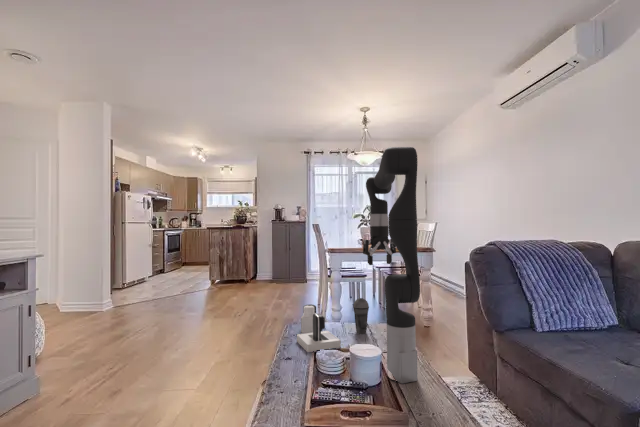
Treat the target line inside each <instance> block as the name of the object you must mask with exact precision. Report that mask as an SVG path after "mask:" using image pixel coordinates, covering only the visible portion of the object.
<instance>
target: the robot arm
mask: <svg viewBox="0 0 640 427" xmlns="http://www.w3.org/2000/svg"><path fill="white" fill-rule="evenodd" d="M396 176H404V184H403V187H402V190H401V192H400V194H399V196H398V197H397V199H396V200H395V202H394V203H393V205H392V206H391V209H390V210H389V208H388V206H389V205H388V201H387V200H386V199H382V198H379V197H377V195H385V194H389V193H390V192H391V191H392V188H393V187H392V185H393V183H394V181H395V180H396ZM417 178H418V152H417V150H416V148H415V147H414V146H412V147H411V146H390V147H386V148H385V150H384V151H383V153H382V156H381V160H380V163H379V167H378V170H377V173H376V174H375V176H370V177H368V178H367V179H366V181H365V187H366V191H367V194H368V198H369V203H370V218H369V231H370V233H369V234H370V235H369V236H370V239H363V240H362V242H363V244H362V245H363V246H362V253H363V255H365V256H367V264H368V265H369V266H373V265H374V262H373V260H374V259H373V258H374V257H373V254H374V253H375V252H376V251H380V250H383V251H384V252H385V253H386V264H387V265H391V264H392V260H393V259H392V258H393V257H392V256H393V254H396V253H397V251H398V253H399V254H400V257H401V258H402V260H403V263H404V267H405V274H388V275H387V276H386V278H385V280H384V298H385V317H386V370H387V369H388V370H389V371H390V372H391V373H392V374H393V376H394V377H395V379H396V380H397V381H398V382H397V383H399V384H400V385H401V384H402V385H403V384H407V383H413V382H417V381H419V379H418V373H419V372H418V350H416V347H417V345H416V341H417V340H416V317H415V315H414V314H412V313H410V312H407V311H405V310H402V309H401V308H399V304H413V303H417V302H418V301H419V299H420V296H421V280H420V272H419V270H420V269H419V261H418V259H419V258H418V213H417V209H418V208H417V181H418V180H417ZM388 210H389V212H388ZM388 213H389V214H388ZM369 246H370V247H369Z"/></svg>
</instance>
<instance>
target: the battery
mask: <svg viewBox="0 0 640 427" xmlns="http://www.w3.org/2000/svg"><path fill="white" fill-rule="evenodd" d="M325 320H326V319H325V317H324V316H323V314H322V313H316V314H313V340H314V341H322V339H321V332H322V331H323V330H325V328H326V323H325V322H326V321H325Z"/></svg>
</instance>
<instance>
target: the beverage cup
mask: <svg viewBox="0 0 640 427" xmlns="http://www.w3.org/2000/svg"><path fill="white" fill-rule="evenodd" d="M357 293H358V294H357V295H358V298H357V299H355V301H354V303H353V306H352V309H353V312H354V322H355V332H356V334H359V335H366V334H367V331H368V330H367V327H368V315H369V310H370V309H369V308H370V306H369V303H368V300H366V298H362V297H361V296H360V288H357Z"/></svg>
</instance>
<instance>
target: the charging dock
mask: <svg viewBox="0 0 640 427" xmlns="http://www.w3.org/2000/svg"><path fill="white" fill-rule="evenodd" d="M321 339H322V341H314V340H313V333H299V334H296V343H298V344H299V345H300V346H301V347H302V349H304V350H305V351H306V352H307V353H314V352H317V351H316V350H320V349H329V348H336V349H340V348H341V339H340V338H338V337H337V336H336V335H334V334H332V332H330V331H329V330H324V331H323V330H322V331H321ZM329 350H330V349H329ZM313 351H314V352H313Z"/></svg>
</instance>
